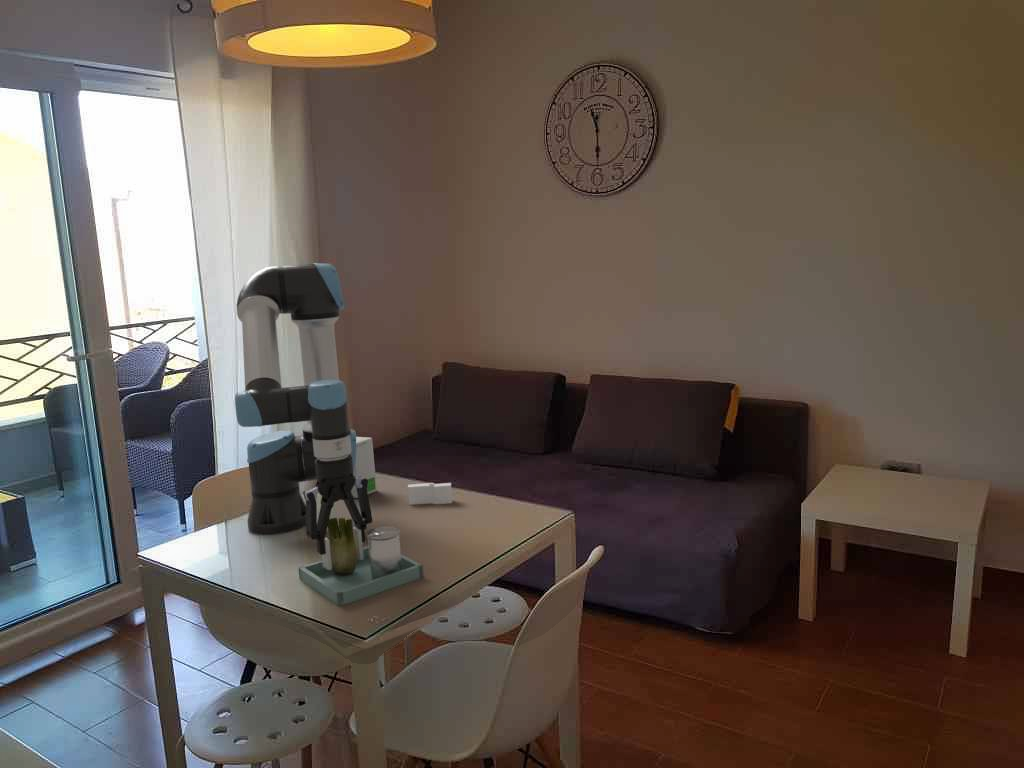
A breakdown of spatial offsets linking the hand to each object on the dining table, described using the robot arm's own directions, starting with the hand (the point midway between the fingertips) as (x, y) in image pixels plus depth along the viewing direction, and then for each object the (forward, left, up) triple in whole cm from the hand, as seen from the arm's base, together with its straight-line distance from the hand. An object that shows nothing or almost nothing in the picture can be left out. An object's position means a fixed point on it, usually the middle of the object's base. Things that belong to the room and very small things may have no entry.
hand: (343, 562), depth 171 cm
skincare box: (-51, +31, -4) cm, 60 cm away
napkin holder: (-28, +40, -4) cm, 50 cm away
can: (+9, +5, -2) cm, 11 cm away
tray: (+5, +1, -3) cm, 6 cm away
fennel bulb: (0, 0, -2) cm, 2 cm away
